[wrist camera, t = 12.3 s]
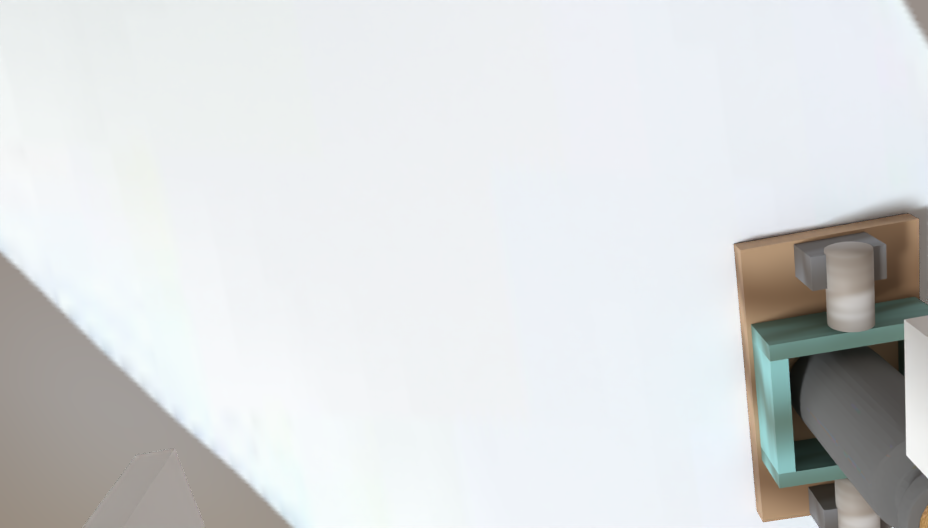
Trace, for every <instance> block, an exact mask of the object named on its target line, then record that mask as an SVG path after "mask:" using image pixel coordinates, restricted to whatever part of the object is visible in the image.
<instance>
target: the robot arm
mask: <svg viewBox="0 0 928 528" xmlns="http://www.w3.org/2000/svg"><path fill="white" fill-rule="evenodd" d="M904 348H905V409H906V456H907V457H908V458H909V459H910V460H911V461H912V462H913V463H914V464H915V465H916V466H917V467H918V468H919V470H920V471H921V472H922V473H923V474H924V475H925V476H926V477H927V478H928V315H927V316H921V317H915V318H910V319H904ZM83 528H205V525H204V522H203V520H202V517H201V515H200V512H199V509H198V507H197V504H196V501H195V499H194V496H193V493H192V491H191V488H190V486H189V483H188V481H187V478H186V475H185V473H184V470H183V468H182V465H181V462H180V460H179V457H178V455H177V452H176V449H175V448H173V449H167V450H161V451H155V452H149V453H143V454H138V455H135V457H134V458H133V459H132V461H131V462H130V463H129V465H128V466H127V468H126V469H125V470H124V472H123V473H122V474H121V476H120V477H119V478H118V480H117V481H116V483H115V484H114V485H113V487H112V488H111V489H110V491H109V492H108V493H107V495H106V496H105V498H104V499H103V500H102V502H101V503H100V505H99V506H98V507H97V508H96V510H95V511H94V513H93V514H92V516H91V517H90V518H89V519H88V521H87V522H86V523H85V525H84V526H83Z"/></svg>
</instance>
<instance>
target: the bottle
mask: <svg viewBox="0 0 928 528" xmlns="http://www.w3.org/2000/svg"><path fill="white" fill-rule="evenodd" d="M789 377H790V392H791V405H792V406H793V408H794V409H795V411H796V412H797V414H798V415H799V416H800V418H801V419H802V420H803V421H804V423H805V424H806V425H807V427H808V428H809V429H810V430H811V432H812V433H813V434H814V436H815V437H816V438H817V439H818V441H819V442H820V443H821V445H822V446H823V447H824V449H825V450H826V451H827V452H828V454H829V455H830V456H831V458H832V459H833V460H834V461H835V463H836V464H837V465H838V466H839V468H840V469H841V470H842V471H843V473H844V474H845V475H846V477H847V478H848V479H849V480H850V482H851V483H852V484H853V485H854V487H855V488H856V489H857V490H858V492H859V493H860V494H861V496H862V497H863V498H864V499H865V501H866V502H867V503H868V504H869V506H870V507H871V508H872V509H873V510H874V512H875V513H876V514H877V515H878V516H879V517H880V518H881V519H882V520H883V521H884V522H885V523H887V524H889V525H890V526H892V527H894V528H928V478H927V477H926V476H925V475H924V474H923V473H922V472H921V471H920V470H919V468H918V467H917V466H916V465H915V464H914V463H913V462H912V461H911V460H910V459H909V458H908V457H907V456H906V409H905V377H904V376H903V375H902V374H901V373H900V372H898V371H897V370H896V369H895V368H894V367H893V366H892V365H890V364H889V363H888V362H887V361H886V360H885V359H883V358H882V357H881V356H880V355H879V354H878V353H876V352H875V351H874V350H872V349H871V348H869V347H868V346H862V347H856V348H850V349H844V350H838V351H832V352H826V353H820V354H814V355H807V356H801V357H800V358H799V359H798V360H797V362H796V363H795V364H794V366H793V368H792V369H791V372H790V375H789Z"/></svg>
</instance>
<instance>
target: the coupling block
mask: <svg viewBox="0 0 928 528" xmlns="http://www.w3.org/2000/svg"><path fill="white" fill-rule="evenodd" d="M734 252H735V264H736V275H737V287H738V299H739V310H740V322H741V333H742V345H743V357H744V368H745V380H746V391H747V403H748V415H749V426H750V438H751V449H752V461H753V473H754V484H755V496H756V507H757V512H758V514H759V516H760V517H761V519H762V521H763V522H768V521H775V520H782V519H788V518H795V517H802V516H809V515H811V516H812V517H813V519H814V520H815V522H816V523H817V525H818V526H819V528H892V526H890V525H889V524H887V523H885V522H884V521H883V520H882V519H881V518H880V517H879V516H878V515H877V514H876V513H875V512H874V510H873V509H872V508H871V507H870V506H869V504H868V503H867V502H866V501H865V499H864V498H863V497H862V496H861V494H860V493H859V492H858V490H857V489H856V488H855V487H854V485H853V484H852V483H851V482H850V480H849V479H848V478H847V477H846V475H845V474H844V473H843V471H842V470H841V469H840V468H839V466H838V465H837V464H836V463H835V461H834V460H833V459H832V458H831V456H830V455H829V454H828V452H827V451H826V450H825V449H824V447H823V446H822V445H821V443H820V442H819V441H818V439H817V438H816V437H815V436H814V434H813V433H812V432H811V430H810V429H809V428H808V427H807V425H806V424H805V423H804V421H803V420H802V419H801V418H800V416H799V415H798V414H797V412H796V411H795V409H794V408H793V406H792V405H791V392H790V377H789V375H790V372H791V369H792V368H793V366H794V364H795V363H796V362H797V360H798V359H799V358H800V357H801V356H807V355H814V354H820V353H826V352H832V351H838V350H844V349H850V348H856V347H862V346H868V347H869V348H871V349H872V350H874V351H875V352H876V353H878V354H879V355H880V356H881V357H882V358H883V359H885V360H886V361H887V362H888V363H889V364H890V365H892V366H893V367H894V368H895V369H896V370H897V371H898V372H900V373H901V374H902V375H903V376H904V377H905V348H904V319H910V318H915V317H921V316H927V315H928V305H927V304H925V303H924V302H922V301H921V300H920V299H919V219H918V218H916V217H914V216H912V215H910V214H908V213H907V214H901V215H895V216H890V217H884V218H878V219H873V220H867V221H861V222H856V223H850V224H844V225H839V226H833V227H827V228H822V229H816V230H810V231H805V232H799V233H793V234H788V235H782V236H776V237H771V238H765V239H759V240H754V241H748V242H742V243H737V244H734Z"/></svg>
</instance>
